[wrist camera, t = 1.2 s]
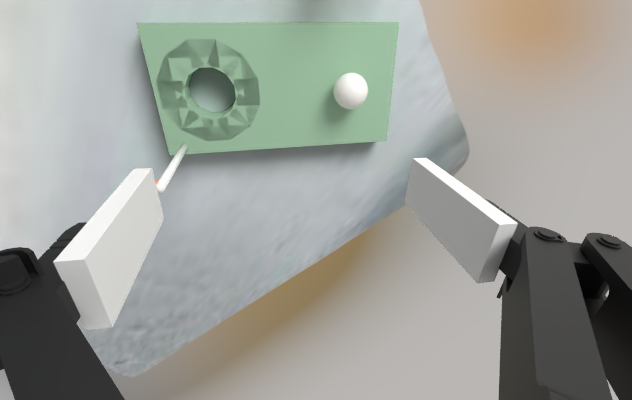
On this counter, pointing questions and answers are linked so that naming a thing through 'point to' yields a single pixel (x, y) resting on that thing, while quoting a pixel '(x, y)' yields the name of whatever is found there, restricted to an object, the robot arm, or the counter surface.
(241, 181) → the counter surface
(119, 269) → the robot arm
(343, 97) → the ball
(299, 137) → the green
